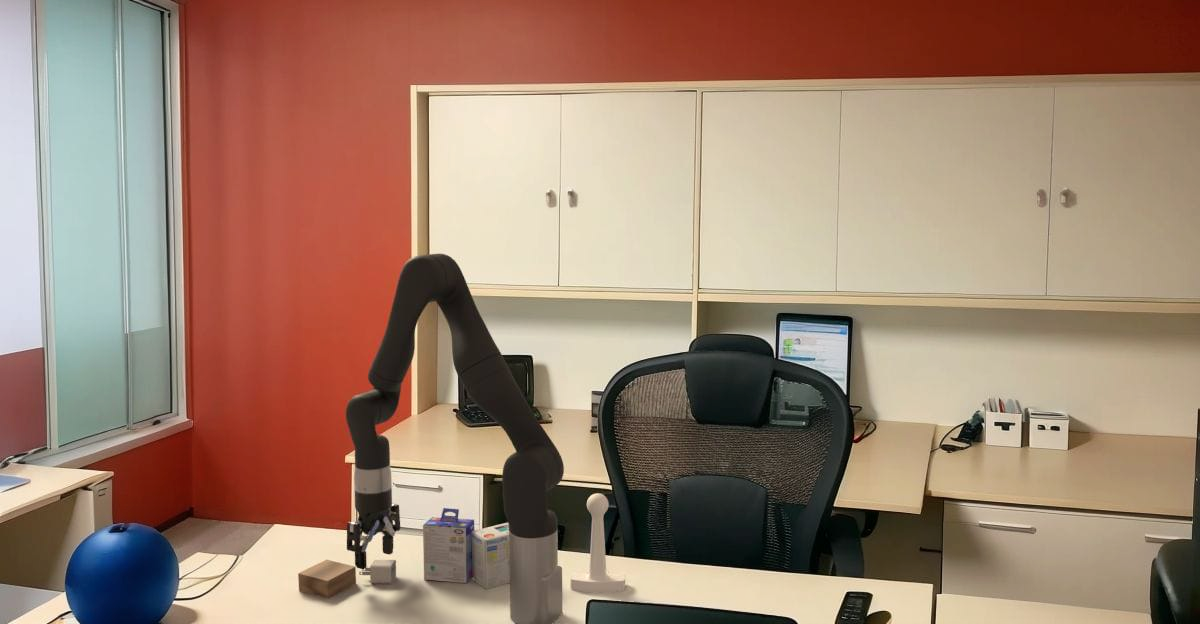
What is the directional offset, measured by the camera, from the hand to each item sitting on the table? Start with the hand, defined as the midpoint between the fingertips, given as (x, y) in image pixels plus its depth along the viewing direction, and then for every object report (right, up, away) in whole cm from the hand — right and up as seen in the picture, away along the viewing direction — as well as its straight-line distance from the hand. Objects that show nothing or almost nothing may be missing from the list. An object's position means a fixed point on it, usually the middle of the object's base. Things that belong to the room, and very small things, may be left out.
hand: (374, 560), depth 192 cm
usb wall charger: (0, -5, 0) cm, 5 cm away
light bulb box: (+26, -4, +1) cm, 27 cm away
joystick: (+47, -5, -2) cm, 47 cm away
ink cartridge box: (+16, -4, +2) cm, 16 cm away
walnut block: (-9, -5, -3) cm, 11 cm away
